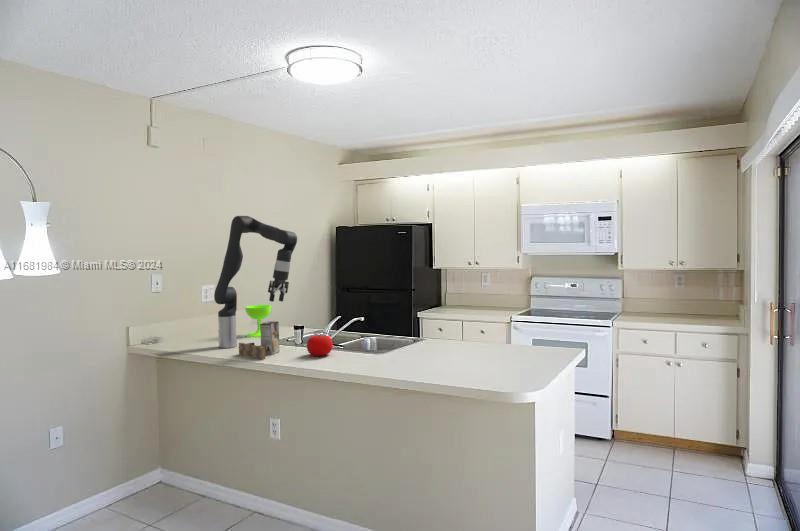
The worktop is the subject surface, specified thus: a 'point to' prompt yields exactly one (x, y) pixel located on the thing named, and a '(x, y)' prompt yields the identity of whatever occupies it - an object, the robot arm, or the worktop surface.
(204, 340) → the worktop surface
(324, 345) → the tomato
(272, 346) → the coffee box
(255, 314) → the wineglass
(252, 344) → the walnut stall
